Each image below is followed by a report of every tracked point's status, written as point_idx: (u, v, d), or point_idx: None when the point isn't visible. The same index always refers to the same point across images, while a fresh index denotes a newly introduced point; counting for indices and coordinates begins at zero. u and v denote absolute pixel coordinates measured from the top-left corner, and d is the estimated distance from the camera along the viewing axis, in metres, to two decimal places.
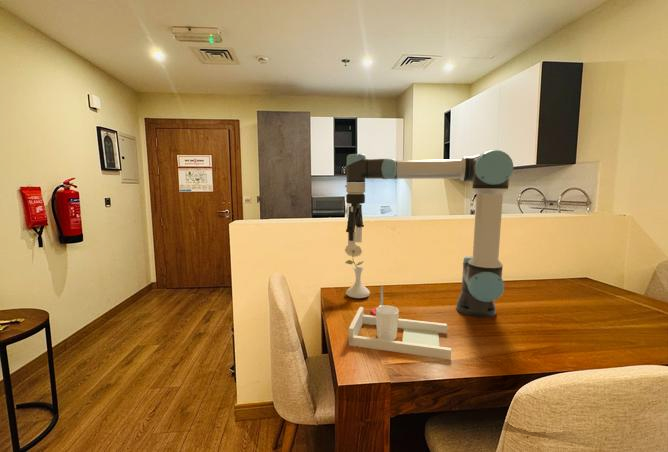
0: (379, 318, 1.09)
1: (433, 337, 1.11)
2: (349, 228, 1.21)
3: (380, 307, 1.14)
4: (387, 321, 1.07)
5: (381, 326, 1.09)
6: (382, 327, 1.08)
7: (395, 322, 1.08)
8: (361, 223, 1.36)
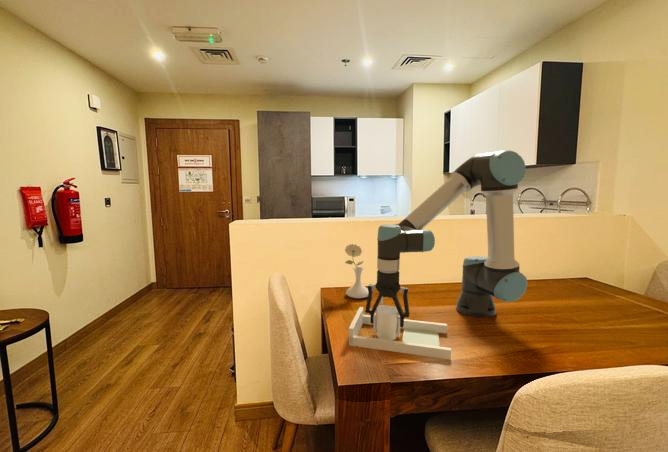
0: (379, 318, 1.09)
1: (433, 337, 1.11)
2: None
3: (380, 307, 1.14)
4: (387, 321, 1.07)
5: (381, 326, 1.09)
6: (382, 327, 1.08)
7: (395, 322, 1.08)
8: (400, 313, 1.08)
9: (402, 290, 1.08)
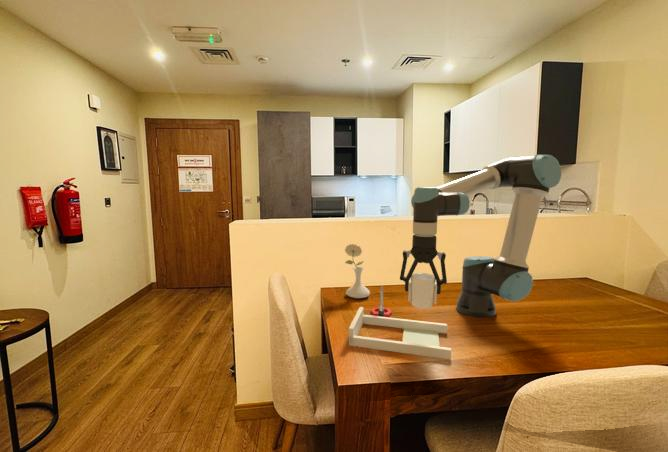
0: (415, 284, 1.04)
1: (433, 337, 1.11)
2: None
3: (414, 275, 1.09)
4: (424, 288, 1.02)
5: (417, 293, 1.04)
6: (418, 294, 1.04)
7: (432, 289, 1.03)
8: (437, 279, 1.04)
9: (439, 255, 1.03)
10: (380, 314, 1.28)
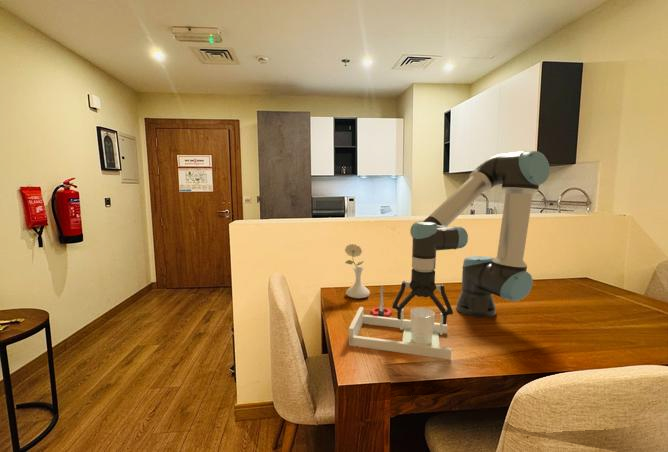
0: (415, 321, 1.05)
1: (433, 337, 1.11)
2: (393, 303, 1.10)
3: (414, 310, 1.11)
4: (424, 325, 1.04)
5: (417, 330, 1.05)
6: (418, 330, 1.05)
7: (431, 325, 1.05)
8: (442, 310, 1.04)
9: (438, 288, 1.04)
10: (380, 314, 1.28)
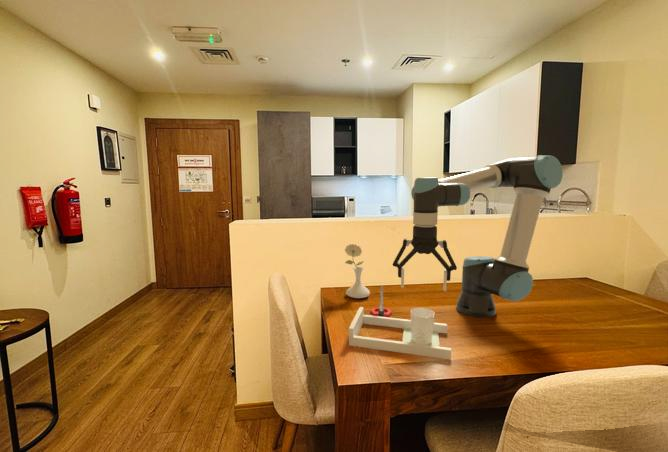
0: (415, 321, 1.05)
1: (433, 337, 1.11)
2: None
3: (414, 310, 1.11)
4: (424, 325, 1.04)
5: (417, 330, 1.05)
6: (418, 330, 1.05)
7: (431, 325, 1.05)
8: (446, 266, 1.02)
9: (441, 244, 1.03)
10: (380, 314, 1.28)
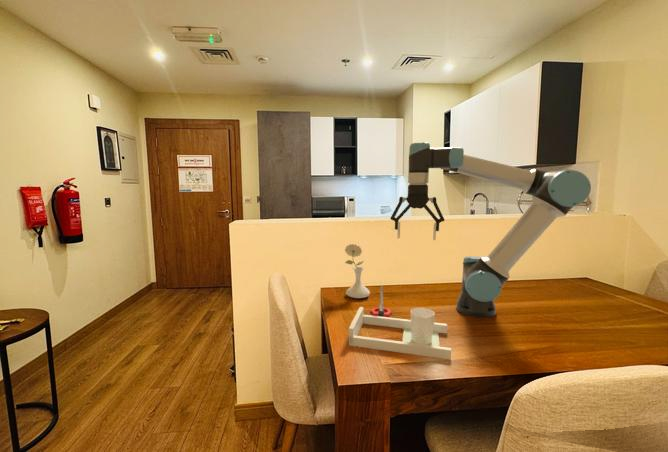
0: (415, 321, 1.05)
1: (433, 337, 1.11)
2: None
3: (414, 310, 1.11)
4: (424, 325, 1.04)
5: (417, 330, 1.05)
6: (418, 330, 1.05)
7: (431, 325, 1.05)
8: (435, 218, 1.21)
9: (431, 199, 1.22)
10: (380, 314, 1.28)
